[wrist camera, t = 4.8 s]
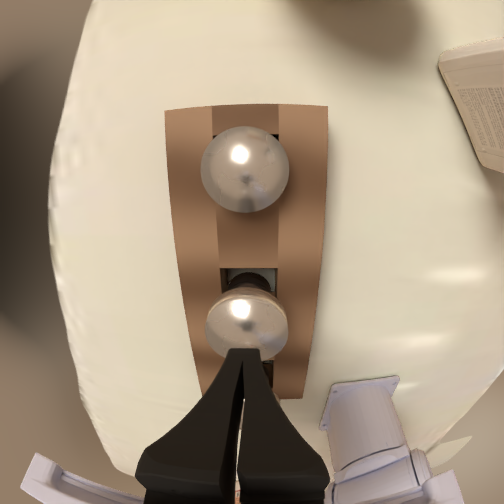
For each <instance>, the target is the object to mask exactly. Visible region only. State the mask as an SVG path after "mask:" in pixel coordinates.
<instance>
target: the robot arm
mask: <svg viewBox="0 0 504 504" xmlns="http://www.w3.org/2000/svg"><path fill="white" fill-rule="evenodd" d="M399 380H400V378H399V376H392V377H385V378H379V379H372V380H364V381H356V382H347V383H337V384H333V385H332V386H331V389H330V393H329V396H328V400H327V403H326V406H325V410H324V413H323V416H322V419H321V422H320V425H319V430H321V431H324V430H327V433H328V439H329V446H330V452H331V459H332V465H333V468H334V470H335V472H336V473H334V478H335V481H334V482H331V483H330V484H329V482H330V477H329V473H328V470H327V468H326V466H325V464H324V462H323V460H322V458H321V456H320V455H319V454H318V453H317V452H315V451H314V450H313V448H312V447H311V446H310V445H309V444H308V443H307V442H306V441H305V440H304V439H303V438H302V436H301V435H300V434H299V433H298V431H297V430H296V429H295V427H294V426H293V425H292V424H291V422H290V421H289V419H288V418H287V416H286V415H285V413H284V412H283V410H282V408H281V407H280V405H279V403H278V401H277V399H276V397H275V395H274V393H273V391H272V389H271V387H270V385H269V382H268V380H267V377H266V375H265V372H264V369H263V365H262V361H261V356H260V350H259V349H258V348H230V349H229V350H228V353H227V355H226V358H225V360H224V362H223V364H222V366H221V368H220V370H219V372H218V373H217V375H216V377H215V379H214V380H213V382H212V383H211V385H210V386H209V388H208V389H207V391H206V392H205V394H204V395H203V396H202V398H201V399H200V400H199V402H198V403H197V404H196V405H195V406H194V408H193V409H192V410H191V411H190V412H189V413H188V414H187V415H186V416H185V417H184V418H183V419H182V420H181V421H180V422H179V423H178V424H177V425H176V426H175V427H173V428H172V429H171V430H170V431H169V432H168V433H166V434H165V435H164V436H163V437H161V438H160V439H158V440H157V441H156V442H154V443H153V444H151V445H150V446H148V447H147V448H145V450H144V452H143V454H142V455H141V458H140V460H139V462H138V465H137V469H136V473H135V477H136V479H137V480H138V481H139V482H140V483H141V484H142V485H143V486H144V487H145V488H146V489H147V490H146V494H145V498H143V497H139V496H136V495H132V494H129V493H125V492H122V491H119V490H115V489H112V488H109V487H106V486H103V485H100V484H98V483H95V482H92V481H90V480H87V479H85V478H82V477H80V476H77V475H75V474H73V473H70V472H68V471H66V470H63V469H62V467H61V466H60V465H58V464H57V463H56V462H54V461H52V460H51V459H49V458H47V457H45V456H43V455H41V454H39V453H35V455H34V457H33V459H32V461H31V464H30V466H29V468H28V470H27V472H26V475H25V477H24V479H23V481H22V484H21V486H20V488H21V489H22V490H24V491H25V492H27V493H28V494H30V495H31V496H33V497H34V498H36V499H38V500H39V501H41V502H42V503H44V504H235V486H236V463H237V444H238V434H239V428H240V422H241V416H242V410H243V403H244V410H243V421H242V431H241V440H240V449H239V456H238V464H237V474H238V479H239V485H240V497H239V503H241V504H464V501H463V497H462V494H461V491H460V488H459V485H458V482H457V479H456V476H455V473H454V470H453V469H450V470H448V471H446V472H443V473H441V474H438V475H436V476H433V474H432V471H431V468H430V465H429V462H428V460H427V457H426V455H425V453H424V451H423V450H418V449H417V448H415V449H414V450H412V451H411V450H410V449H409V447H408V444H407V441H406V438H405V435H404V432H403V429H402V426H401V424H400V421H399V418H398V415H397V412H396V410H395V407H394V404H393V402H392V399H391V397H392V395H393V393H394V391H395V389H396V387H397V385H398V383H399ZM328 484H329V486H328V488H327V490H326V492H325V491H324V490H325V488H326V487H327V485H328Z"/></svg>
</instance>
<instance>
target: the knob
mask: <svg viewBox="0 0 504 504" xmlns="http://www.w3.org/2000/svg"><path fill="white" fill-rule="evenodd" d="M201 178H202V182H203V185H204V187H205V189H206V191H207V193H208V194H209V195H210V197H211V198H212V199H213V200H214V201H215V202H216V203H218V204H219V205H221V206H222V207H224V208H226V209H228V210H231V211H235V212H242V213H248V212H255V211H259V210H262V209H264V208H266V207H268V206H269V205H271V204H272V203H274V202H275V201H276V200H277V199H278V198H279V197H280V195H281V194H282V193H283V191H284V189H285V187H286V185H287V182H288V178H289V162H288V158H287V155H286V152H285V150H284V148H283V147H282V145H281V144H280V143H279V141H278V140H277V139H276V138H275V137H273V136H272V135H271V134H269V133H268V132H266V131H264V130H262V129H259V128H255V127H250V126H241V127H234V128H231V129H228V130H226V131H224V132H222V133H220V134H219V135H217V136H216V137H215V138H214V139H213V140H212V141H211V142H210V143H209V145H208V146H207V148H206V149H205V152H204V154H203V157H202V160H201Z"/></svg>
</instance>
